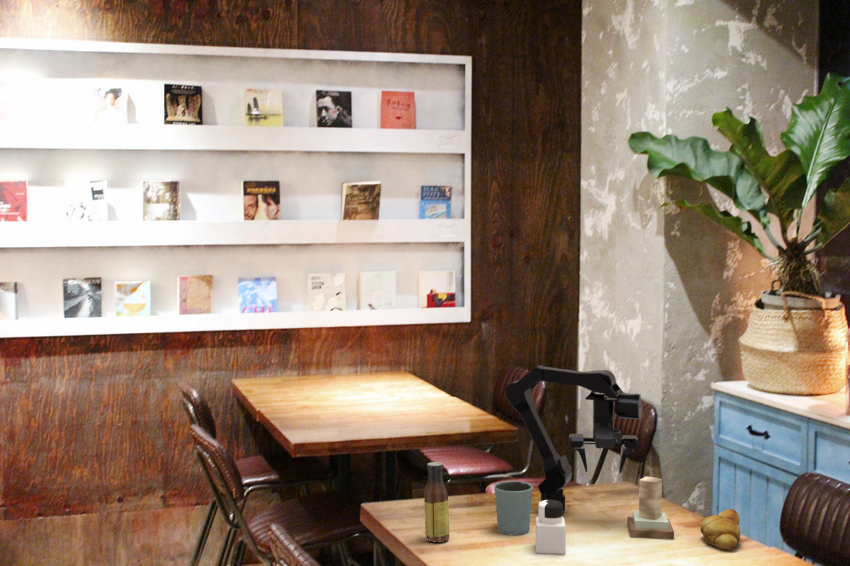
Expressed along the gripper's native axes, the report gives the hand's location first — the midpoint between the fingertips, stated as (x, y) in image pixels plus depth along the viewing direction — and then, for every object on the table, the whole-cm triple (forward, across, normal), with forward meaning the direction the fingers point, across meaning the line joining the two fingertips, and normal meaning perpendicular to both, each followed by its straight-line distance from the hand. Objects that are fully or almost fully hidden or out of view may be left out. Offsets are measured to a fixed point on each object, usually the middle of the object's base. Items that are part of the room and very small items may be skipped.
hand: (603, 472), depth 242 cm
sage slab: (+11, +12, -9) cm, 19 cm away
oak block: (+9, +12, -9) cm, 17 cm away
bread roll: (+14, +29, -15) cm, 35 cm away
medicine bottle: (+13, -14, -27) cm, 33 cm away
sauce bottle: (+13, -43, -25) cm, 52 cm away
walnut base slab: (+13, +12, -9) cm, 20 cm away
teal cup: (+13, -24, -14) cm, 31 cm away
